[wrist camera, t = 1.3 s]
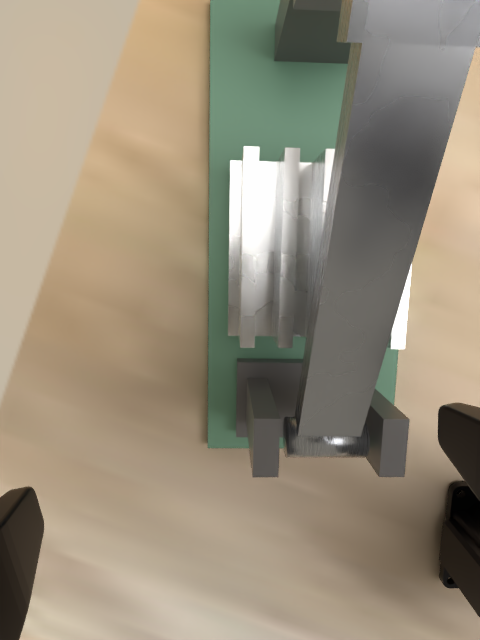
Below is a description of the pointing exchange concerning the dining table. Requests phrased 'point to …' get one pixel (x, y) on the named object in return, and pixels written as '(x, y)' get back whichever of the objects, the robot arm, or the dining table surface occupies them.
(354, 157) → the strap
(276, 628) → the dining table surface
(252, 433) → the hinge post
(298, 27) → the post
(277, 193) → the heatsink
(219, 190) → the board
